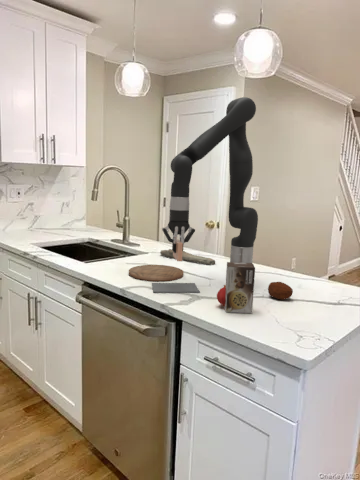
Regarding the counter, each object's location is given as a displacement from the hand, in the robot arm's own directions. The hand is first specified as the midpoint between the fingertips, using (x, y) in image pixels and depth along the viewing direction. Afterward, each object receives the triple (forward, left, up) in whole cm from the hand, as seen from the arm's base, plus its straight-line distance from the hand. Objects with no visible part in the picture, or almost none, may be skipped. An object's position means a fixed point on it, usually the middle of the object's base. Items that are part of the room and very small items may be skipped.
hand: (177, 252), depth 151 cm
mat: (0, -1, -15) cm, 15 cm away
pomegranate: (-15, +21, -15) cm, 30 cm away
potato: (-39, +12, -15) cm, 43 cm away
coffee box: (-18, +24, -15) cm, 34 cm away
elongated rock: (-13, -55, -16) cm, 59 cm away
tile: (0, 0, -3) cm, 3 cm away
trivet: (+6, -23, -16) cm, 29 cm away
